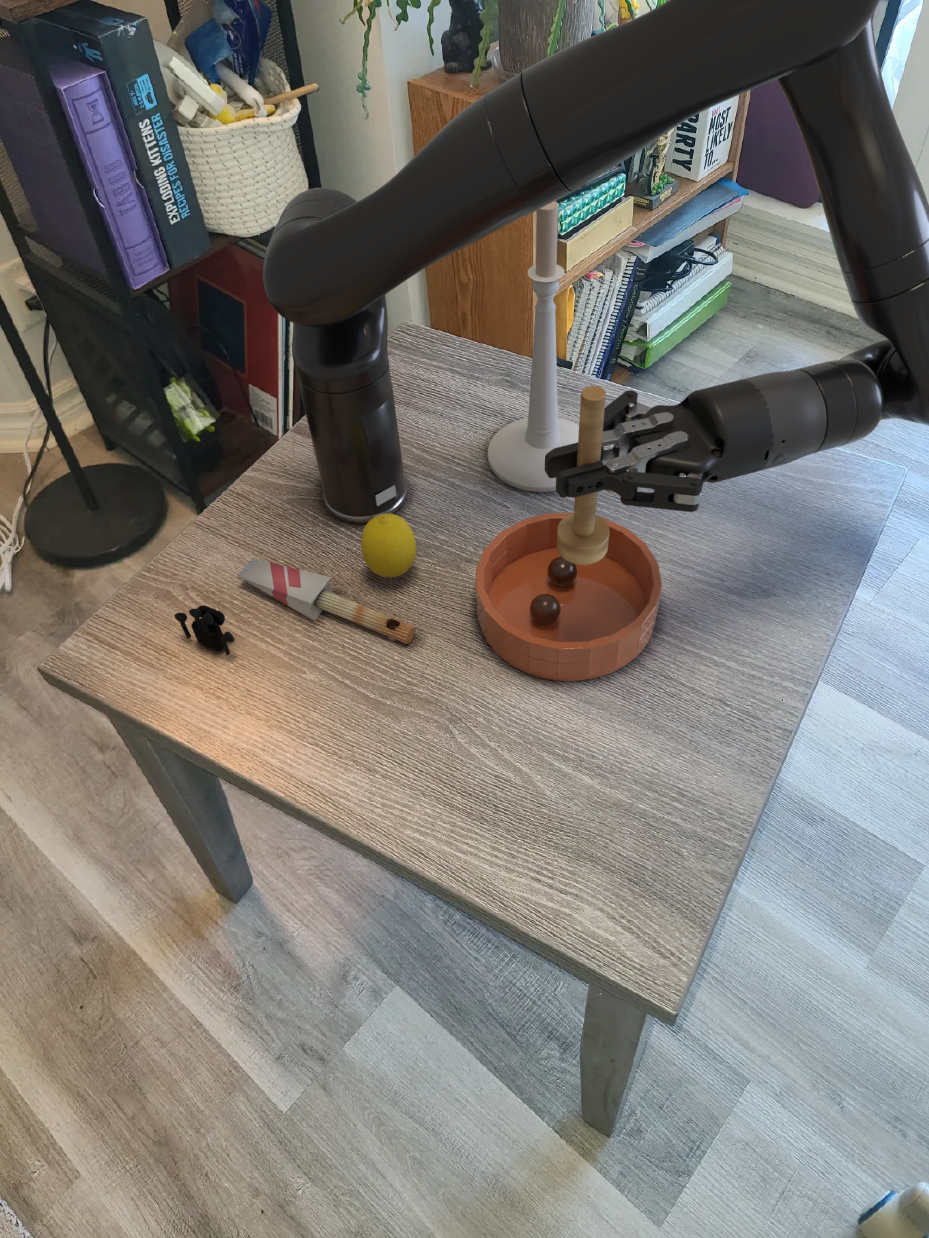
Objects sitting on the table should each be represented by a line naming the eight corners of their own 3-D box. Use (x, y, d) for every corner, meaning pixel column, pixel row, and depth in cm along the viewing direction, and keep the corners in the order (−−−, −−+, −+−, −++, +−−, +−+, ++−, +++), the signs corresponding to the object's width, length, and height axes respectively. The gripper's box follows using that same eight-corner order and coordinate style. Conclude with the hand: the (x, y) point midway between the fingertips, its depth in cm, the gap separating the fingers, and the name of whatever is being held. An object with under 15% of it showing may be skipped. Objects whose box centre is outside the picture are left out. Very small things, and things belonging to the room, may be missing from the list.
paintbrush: (252, 544, 93) (419, 613, 87) (257, 562, 95) (421, 631, 89) (230, 569, 91) (399, 641, 85) (235, 586, 93) (401, 658, 87)
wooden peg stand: (546, 543, 78) (550, 390, 66) (584, 521, 79) (596, 367, 67) (579, 572, 76) (590, 419, 63) (618, 549, 77) (636, 395, 65)
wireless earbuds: (181, 639, 90) (165, 606, 86) (196, 622, 91) (182, 589, 87) (237, 663, 87) (224, 630, 83) (252, 645, 89) (240, 612, 85)
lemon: (426, 560, 95) (420, 504, 89) (407, 597, 92) (399, 542, 86) (378, 549, 96) (369, 494, 90) (358, 586, 93) (347, 531, 87)
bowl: (443, 598, 91) (440, 564, 88) (576, 523, 97) (578, 488, 94) (553, 712, 82) (554, 680, 78) (692, 621, 88) (700, 587, 84)
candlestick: (619, 448, 105) (645, 190, 82) (553, 507, 99) (561, 248, 76) (532, 407, 111) (535, 156, 88) (465, 462, 105) (448, 207, 82)
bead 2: (542, 565, 92) (542, 561, 89) (569, 554, 92) (571, 549, 89) (553, 592, 91) (554, 589, 88) (580, 581, 91) (582, 577, 88)
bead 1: (518, 610, 88) (534, 584, 87) (540, 618, 89) (556, 593, 89) (533, 625, 85) (550, 599, 85) (555, 633, 87) (571, 608, 86)
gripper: (718, 339, 74) (521, 386, 71) (808, 439, 66) (589, 496, 63) (704, 413, 80) (521, 459, 77) (785, 513, 71) (583, 569, 69)
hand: (552, 475), depth 70 cm, fingers closed on wooden peg stand, 2 cm apart
